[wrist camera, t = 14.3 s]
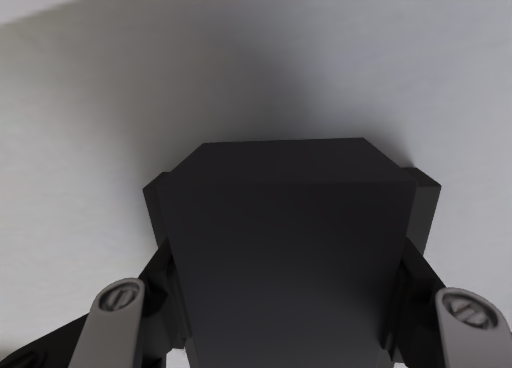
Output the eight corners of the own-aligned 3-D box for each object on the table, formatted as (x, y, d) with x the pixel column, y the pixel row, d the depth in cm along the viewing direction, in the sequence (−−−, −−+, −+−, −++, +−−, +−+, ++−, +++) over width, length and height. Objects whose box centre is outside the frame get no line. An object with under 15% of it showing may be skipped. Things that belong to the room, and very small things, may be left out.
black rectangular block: (202, 142, 10) (154, 184, 6) (364, 137, 9) (419, 181, 5) (225, 294, 13) (202, 381, 9) (344, 298, 12) (371, 394, 9)
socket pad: (162, 171, 12) (141, 188, 11) (416, 166, 11) (443, 185, 9) (206, 367, 19) (198, 398, 17) (370, 379, 18) (381, 414, 16)
